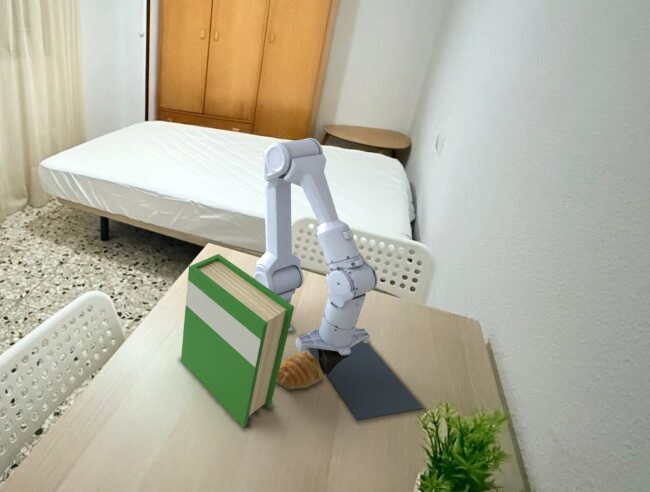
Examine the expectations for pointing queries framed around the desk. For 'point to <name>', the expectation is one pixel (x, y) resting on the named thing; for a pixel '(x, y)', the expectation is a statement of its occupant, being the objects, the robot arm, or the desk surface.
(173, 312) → the desk surface
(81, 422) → the desk surface
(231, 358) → the hardback book
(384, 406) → the napkin
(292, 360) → the pastry
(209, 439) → the desk surface
